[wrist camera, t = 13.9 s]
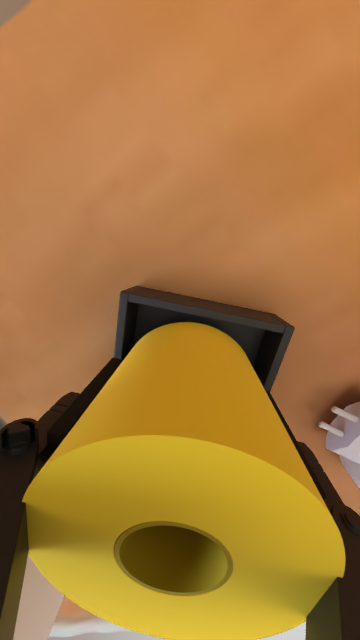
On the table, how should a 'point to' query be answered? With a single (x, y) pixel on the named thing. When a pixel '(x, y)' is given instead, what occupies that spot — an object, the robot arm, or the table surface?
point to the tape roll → (184, 500)
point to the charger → (345, 438)
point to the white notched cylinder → (36, 605)
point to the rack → (239, 323)
